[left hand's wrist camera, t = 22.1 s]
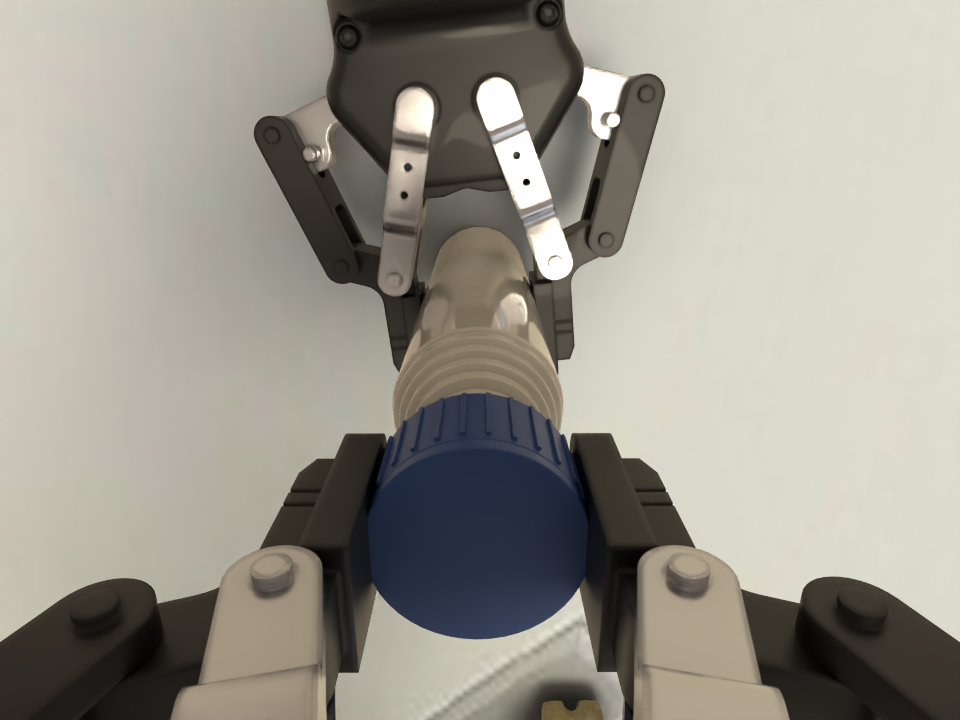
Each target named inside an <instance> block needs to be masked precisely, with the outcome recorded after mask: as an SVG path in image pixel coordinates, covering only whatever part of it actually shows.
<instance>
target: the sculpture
mask: <svg viewBox="0 0 960 720" xmlns="http://www.w3.org/2000/svg"><path fill="white" fill-rule="evenodd" d="M541 715H542V717H541V720H604V719H603V715H602V712H601V709H600V706H599V703H598V702H597V701H596V700H581V701H579V702H578V703H577V706H576V709H575V710H574V711H570V710H568V709H566V707H565V706H564V704H563V702H562V701H547V702H544V703H543V705H542V711H541Z"/></svg>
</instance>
